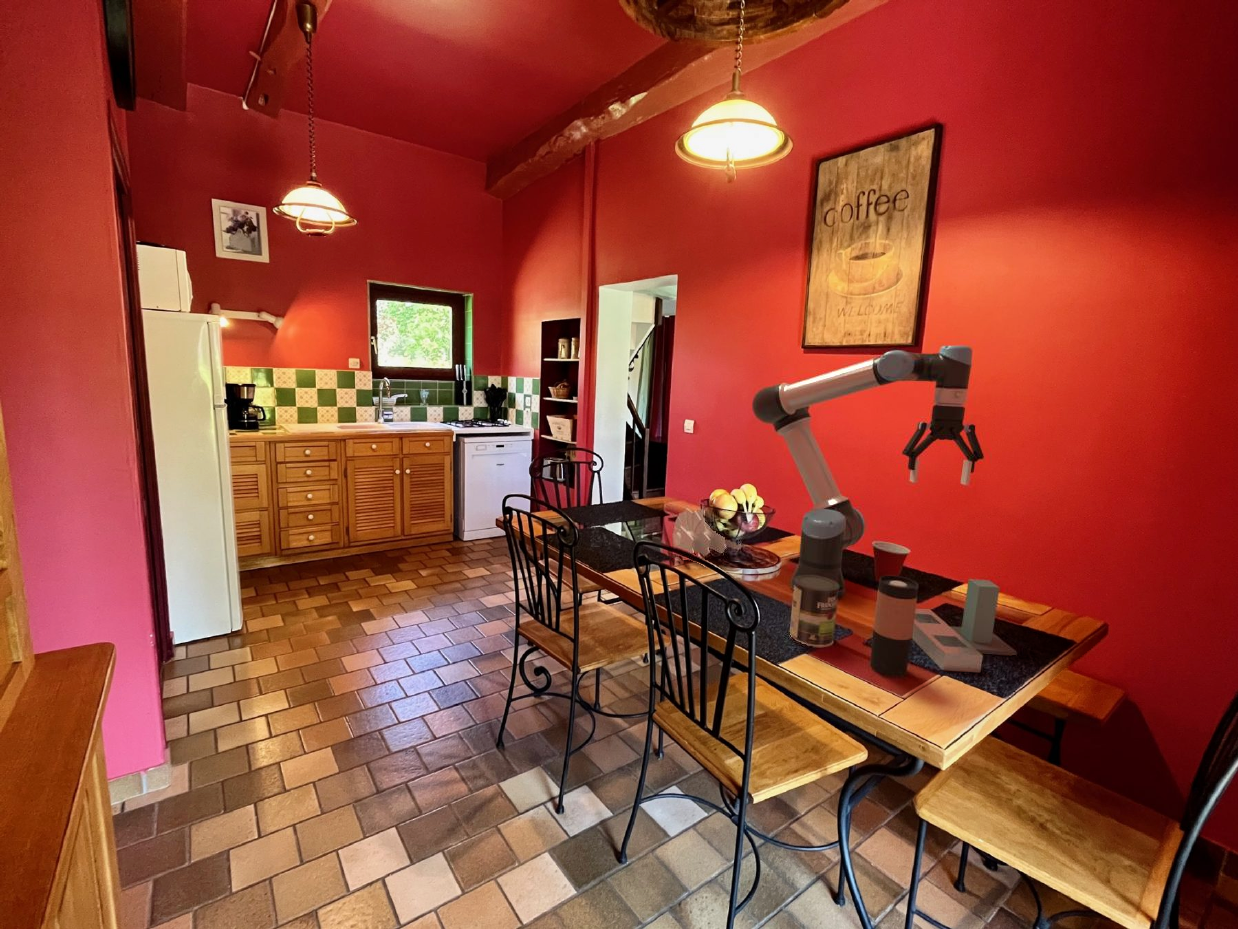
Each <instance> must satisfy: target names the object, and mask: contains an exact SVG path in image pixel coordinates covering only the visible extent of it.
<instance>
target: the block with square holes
mask: <svg viewBox="0 0 1238 929" xmlns="http://www.w3.org/2000/svg"><path fill="white" fill-rule="evenodd" d="M912 641H914V642H915V643H916V644H917V645H918V647H920V649H922V650H923V652H924V653H926V655H927V656H928V657H929V658H930V659H931V660H932V661H933V662H934V663H935V664H936V665H937V666H938V667H939V668H940V669H941V671H952V672H966V673H967V672H969V673H981V669H982V662H983V658H984V657H983V656H984V655H983V654H981V653H980V652H978V651H977V650H976V649H975V648H974V647H973V646H971V645H970V644H969V643H968V642H967V641H966V640H965V639H963V638H962V637H961V636H960V635H959V634H958V633H956V632H955V631H954V630H953V629H952V628H951V627H950V626H949V624H947V623H946V622H945V621H944V620H943V619H942V618H940V617H939V616H938V615H937V614H936V613H935V612H934V611H933V610H931V609H930V608H916V610H915V619H914V627H913V636H912Z"/></svg>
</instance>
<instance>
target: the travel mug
mask: <svg viewBox="0 0 1238 929" xmlns="http://www.w3.org/2000/svg"><path fill="white" fill-rule="evenodd" d="M877 587H878V589H877V597H876V603H875V611H874V619H873V626H872V627H873V629H872V637H871V638H872V639H871V648H870V650H871V651H870V663H869V664H870V667H871V670H873V671H874V672H876V673H878V674H880V675H882V676H885V677H889V678H902V677H905V676H906V674H907V670H908V665H909V660H910V659H909V658H910V654H911V653H910V652H911V647H912V641H913V639H912V636H913V627H914V619H915V610H916V609H917V601H918V592H919V583H917V582H916V581H914V580H913V579H911V578H907V577H904V576H900V575H899V576H891V575H888V576H882V577H880V579H879V583H878V586H877Z"/></svg>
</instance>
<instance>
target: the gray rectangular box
mask: <svg viewBox="0 0 1238 929" xmlns="http://www.w3.org/2000/svg"><path fill="white" fill-rule="evenodd" d="M966 588H967V589H966V596H965V603H964V609H963V615H962V623H961V627H962V629H961V634H962V635H963V636H965V637H966V638H967V639H968V640H969V641H970V642H979V643H991V640H992V633H993V632H994V626H995V619H996V614H997V607H998V606H997V605H998V601H999V594H1000V593H999V592H1000V586H998V585H996V584H995V583H993V582H992V581H990V580H988V579H970V578H969V579H968V581H967V587H966ZM993 634H994V633H993Z"/></svg>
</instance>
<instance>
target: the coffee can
mask: <svg viewBox="0 0 1238 929" xmlns="http://www.w3.org/2000/svg"><path fill="white" fill-rule="evenodd" d="M839 588H840V586H839V584H838V583H837V582H835V581H833V580H831V579H829V578H825V577H821V576H815V575H801V576H797V577H795V578H794V591H793V590H792V591H793V593H792V601H791V602H792V605H791V616H790V625H789V626H790V627H789V632H790V635H791V637H793V638H794V639H795V640H796V641H798V642H801V643H802V644H806V645H807V646H806V647H810V646H813V647H812V648H821V649H822V648H828V647H830V646H832V645H833V644H834V641H835V640H834V638H835V637H834V636H835V628H836V620H837V618H836V617H837V607H838V601H839V599H838V592H839ZM790 635H789V636H790ZM791 637H790V638H791ZM796 641H795V642H796ZM798 642H797V643H798ZM802 644H801V645H802Z"/></svg>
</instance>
